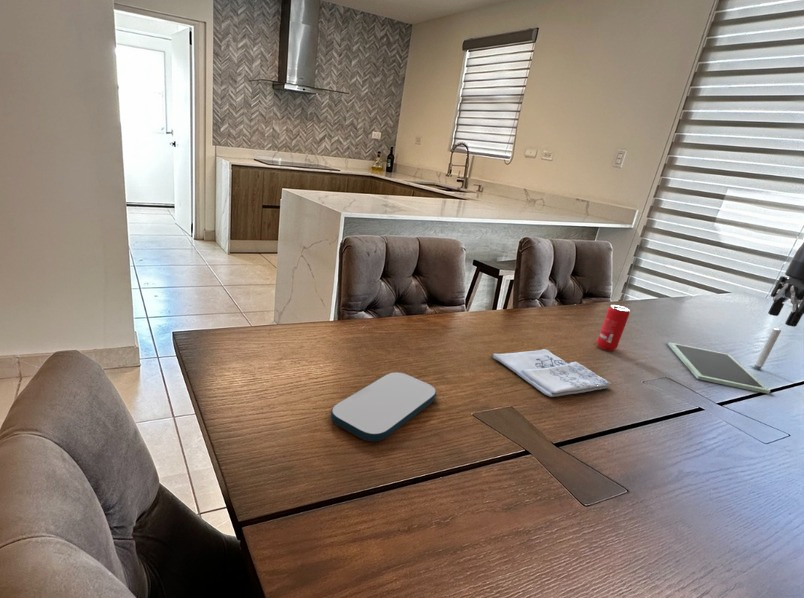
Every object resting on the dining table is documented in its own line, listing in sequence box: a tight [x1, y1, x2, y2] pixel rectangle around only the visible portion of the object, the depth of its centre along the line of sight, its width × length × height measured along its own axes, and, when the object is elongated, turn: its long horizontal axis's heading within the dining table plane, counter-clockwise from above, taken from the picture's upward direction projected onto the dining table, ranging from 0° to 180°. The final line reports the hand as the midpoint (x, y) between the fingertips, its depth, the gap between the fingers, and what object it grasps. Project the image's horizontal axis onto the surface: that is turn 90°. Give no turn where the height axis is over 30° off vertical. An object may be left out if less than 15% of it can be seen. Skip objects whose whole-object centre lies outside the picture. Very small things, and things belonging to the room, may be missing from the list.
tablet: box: [667, 341, 771, 395], centre depth 128 cm, size 16×23×1 cm
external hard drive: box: [330, 371, 437, 443], centre depth 90 cm, size 24×12×2 cm, turn 143°
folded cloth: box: [492, 348, 612, 398], centre depth 112 cm, size 19×20×2 cm
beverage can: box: [596, 304, 630, 352], centre depth 130 cm, size 5×5×12 cm
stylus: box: [753, 327, 782, 371], centre depth 128 cm, size 2×2×12 cm
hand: (781, 320), depth 125 cm, fingers open, 8 cm apart
